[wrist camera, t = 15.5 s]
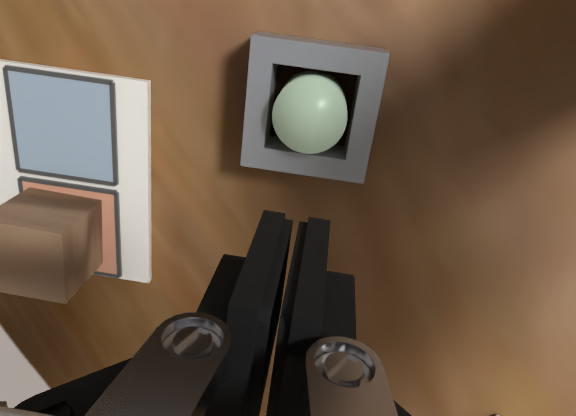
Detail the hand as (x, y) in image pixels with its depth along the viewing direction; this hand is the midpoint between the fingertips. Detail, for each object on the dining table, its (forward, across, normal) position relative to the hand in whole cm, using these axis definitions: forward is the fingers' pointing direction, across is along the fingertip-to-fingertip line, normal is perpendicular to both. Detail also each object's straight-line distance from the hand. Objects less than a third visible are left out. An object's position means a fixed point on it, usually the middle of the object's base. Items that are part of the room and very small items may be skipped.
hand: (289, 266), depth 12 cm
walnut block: (+20, +18, +12) cm, 29 cm away
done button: (+21, +1, 0) cm, 21 cm away
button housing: (+21, +1, 0) cm, 21 cm away
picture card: (+21, +18, +8) cm, 28 cm away
